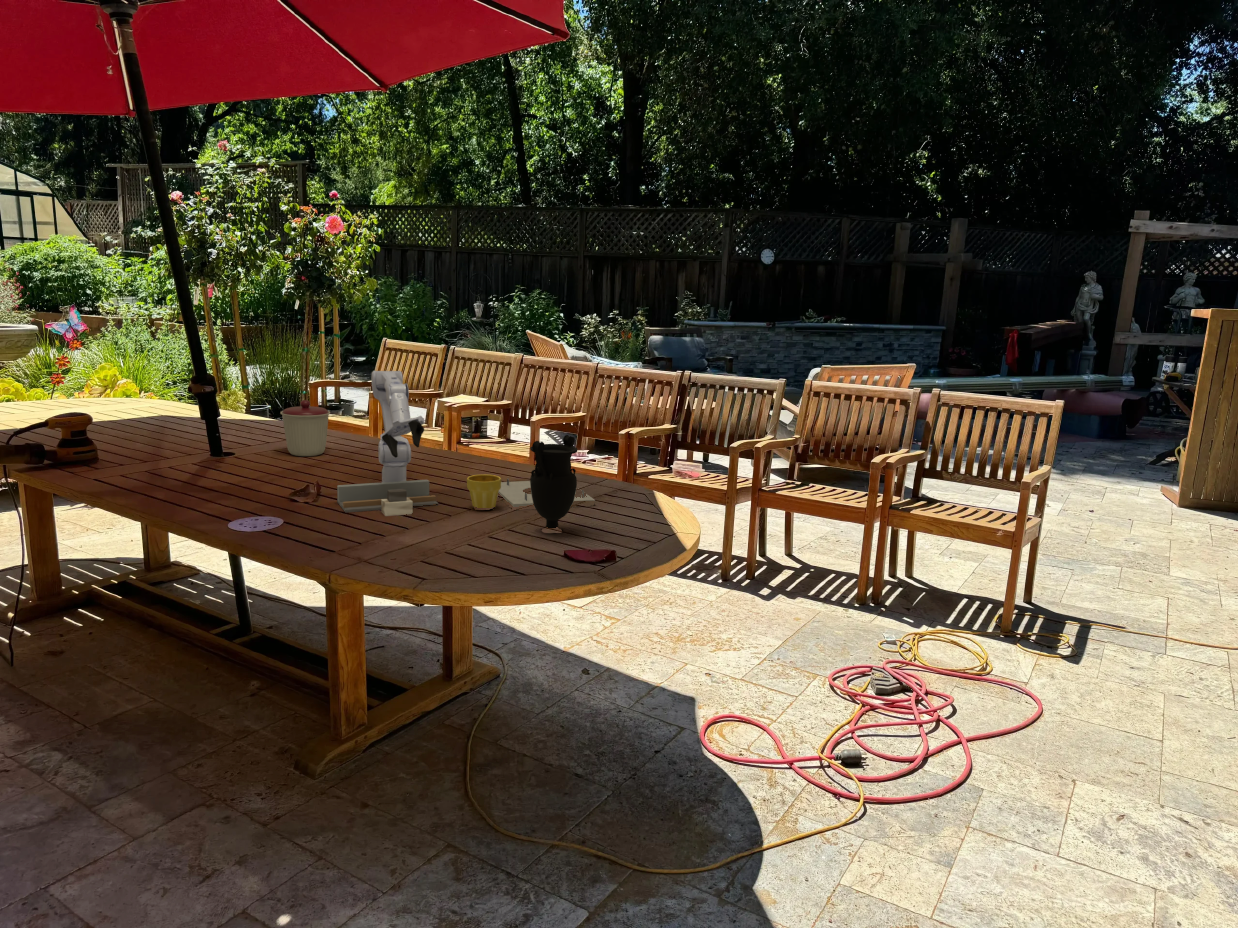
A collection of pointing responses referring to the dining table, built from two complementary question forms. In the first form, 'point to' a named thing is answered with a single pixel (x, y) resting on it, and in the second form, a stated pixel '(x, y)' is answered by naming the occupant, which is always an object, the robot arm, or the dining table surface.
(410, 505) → the cabinet block
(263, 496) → the dining table surface
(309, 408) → the canister
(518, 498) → the mounting panel
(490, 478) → the plant pot
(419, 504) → the wall board
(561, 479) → the urn
